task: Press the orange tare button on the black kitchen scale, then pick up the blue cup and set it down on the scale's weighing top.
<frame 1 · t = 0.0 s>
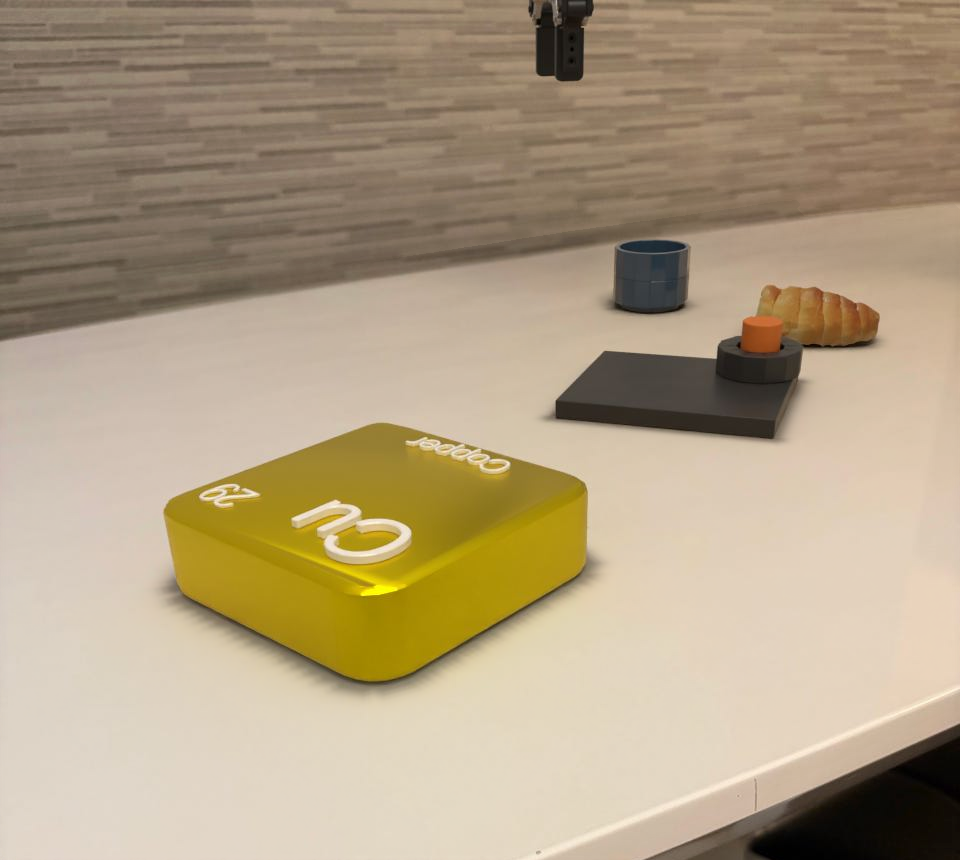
hand: (558, 78, 90), 18 cm above the table, tool pointing down, fingers open, 8 cm apart
blue cup: (649, 305, 96), on the table
tare button: (761, 335, 73), point 4 cm above the table, slide at 0.1 cm
scale: (680, 399, 73), on the table
element tile: (383, 579, 52), on the table
pastry: (804, 339, 85), on the table
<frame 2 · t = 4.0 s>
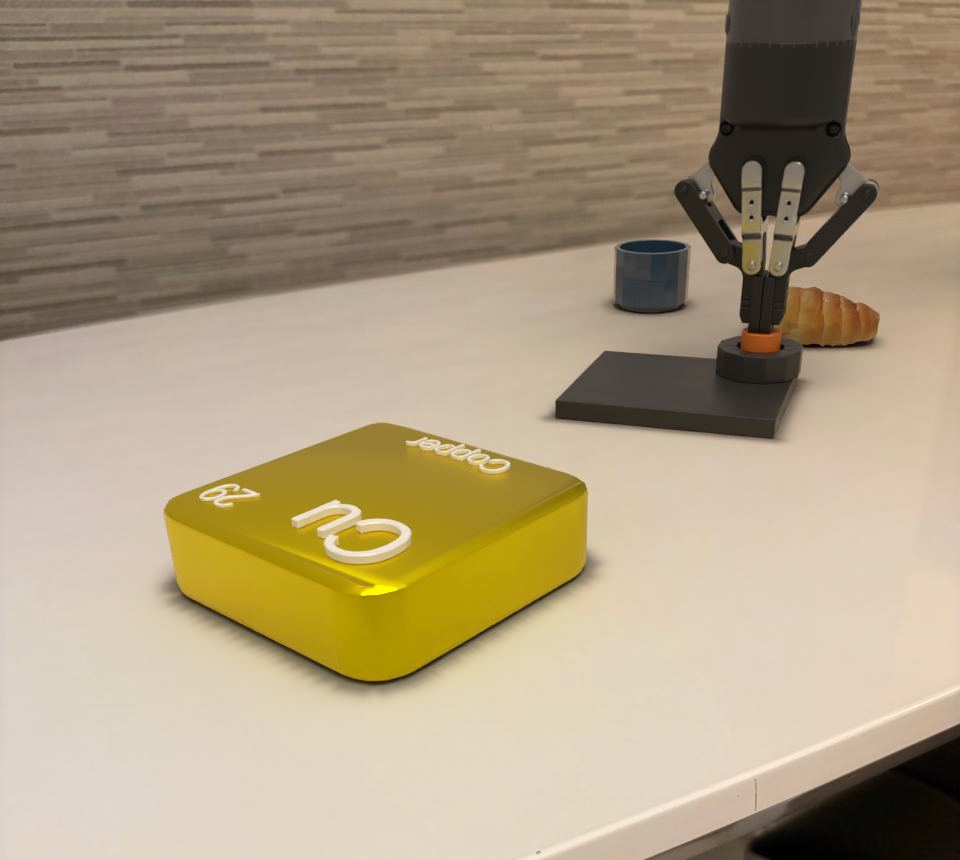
hand: (760, 330, 72), 4 cm above the table, tool pointing down, fingers closed
tare button: (760, 345, 73), point 3 cm above the table, slide at -0.5 cm, touching gripper
everything else where it was.
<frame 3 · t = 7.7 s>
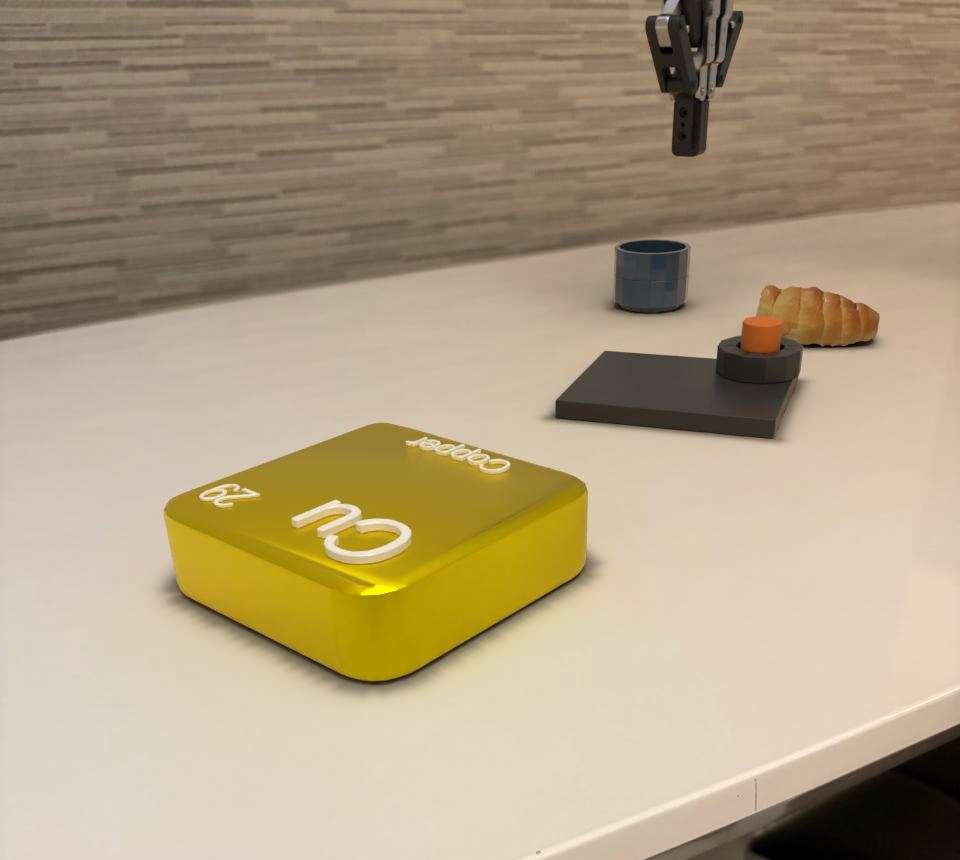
hand: (688, 155, 82), 13 cm above the table, tool pointing down, fingers closed
tare button: (761, 336, 73), point 4 cm above the table, slide at 0.1 cm
everything else where it was.
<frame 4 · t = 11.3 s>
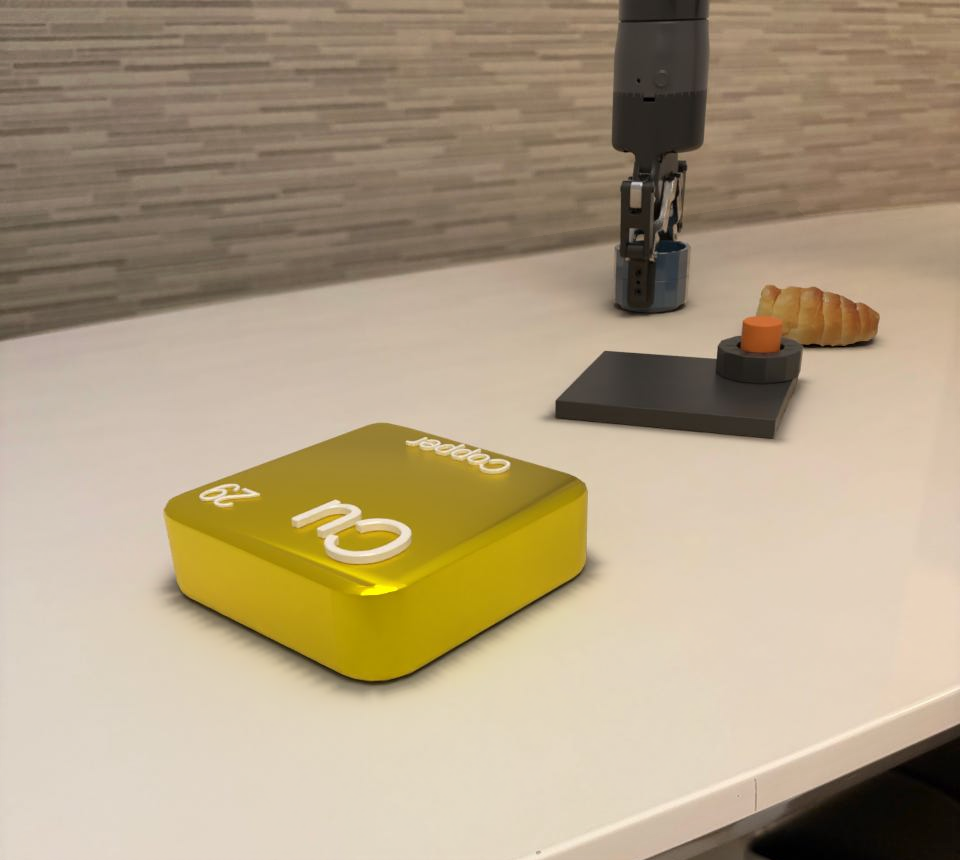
hand: (649, 296, 95), 1 cm above the table, tool pointing down, fingers closed on blue cup, 6 cm apart
blue cup: (649, 305, 96), on the table, touching gripper
everything else where it was.
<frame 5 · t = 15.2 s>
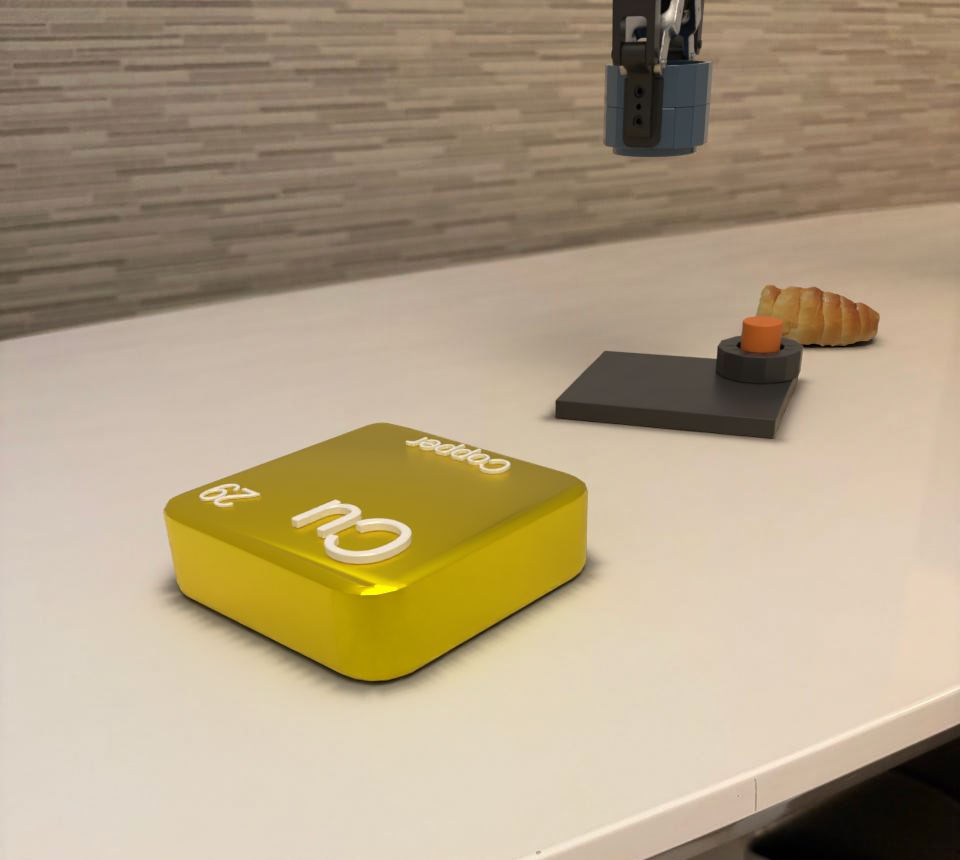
hand: (655, 139, 68), 16 cm above the table, tool pointing down, fingers closed on blue cup, 6 cm apart
blue cup: (654, 152, 68), point 15 cm above the table, touching gripper
everything else where it was.
when the fingers open (2 cm above the table, at t = 19.4 s): blue cup stays where it is, resting on scale.
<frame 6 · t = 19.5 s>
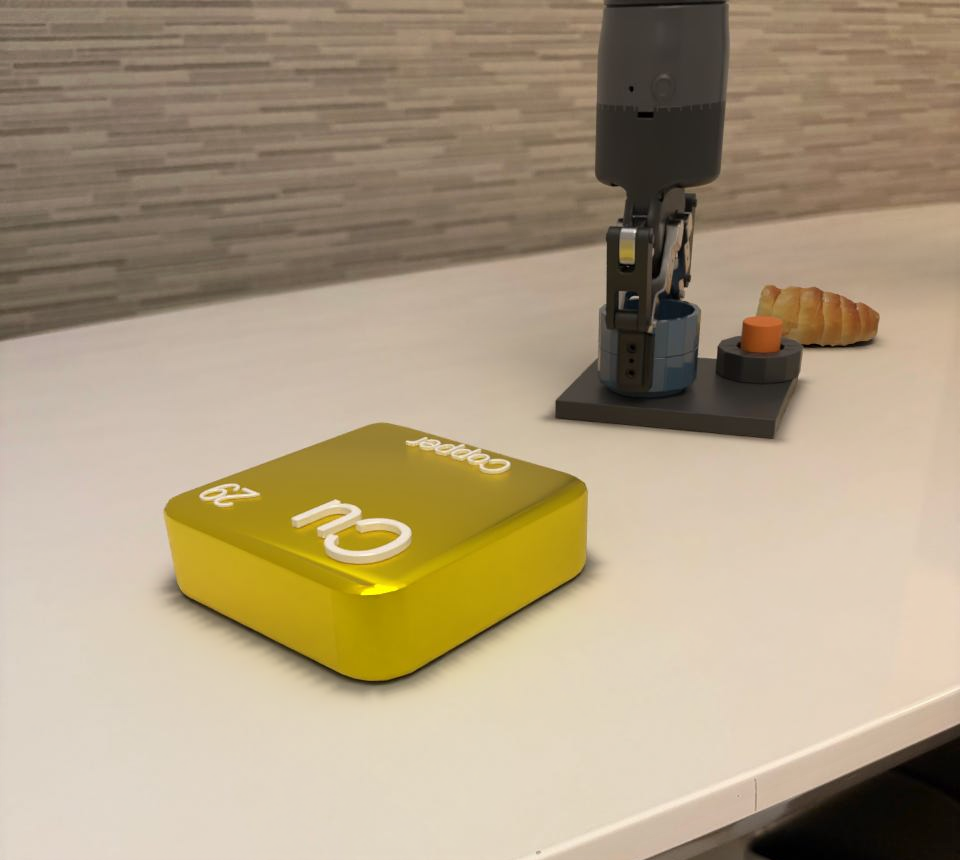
hand: (646, 374, 72), 2 cm above the table, tool pointing down, fingers open, 6 cm apart
blue cup: (646, 385, 72), point 1 cm above the table, touching scale
everything else where it was.
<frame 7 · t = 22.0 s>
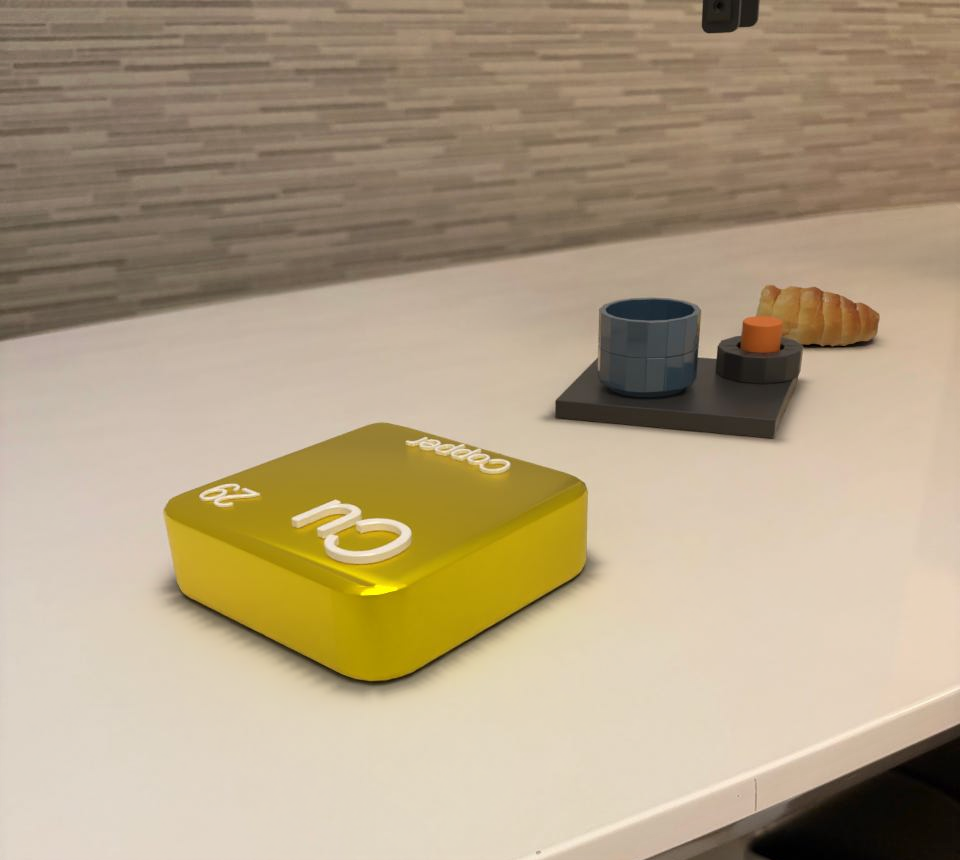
hand: (730, 29, 69), 22 cm above the table, tool pointing down, fingers open, 8 cm apart
nothing on the table moved.
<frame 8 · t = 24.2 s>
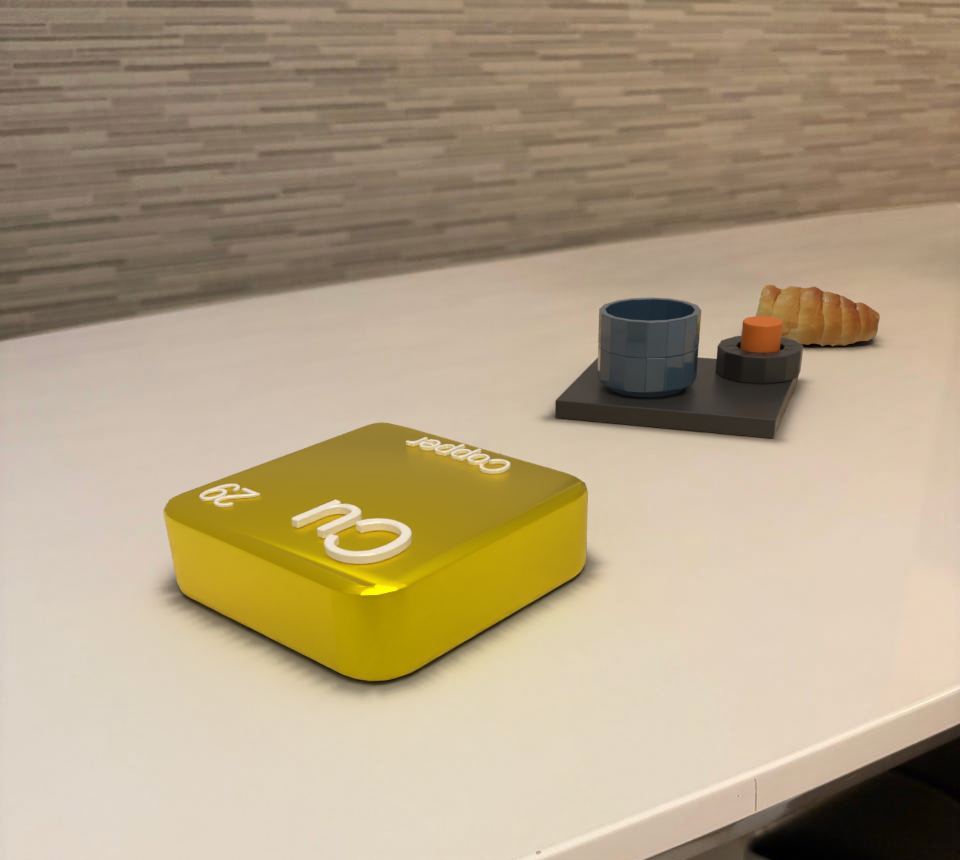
nothing on the table moved.
at the end: tare button pushed in 1.1 cm at the most during the clip, back to where it started at the end; blue cup inside the target area on the scale (0.4 cm from its centre), point 1.2 cm above the scale's base; blue cup touching scale; blue cup tilted 0° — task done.
